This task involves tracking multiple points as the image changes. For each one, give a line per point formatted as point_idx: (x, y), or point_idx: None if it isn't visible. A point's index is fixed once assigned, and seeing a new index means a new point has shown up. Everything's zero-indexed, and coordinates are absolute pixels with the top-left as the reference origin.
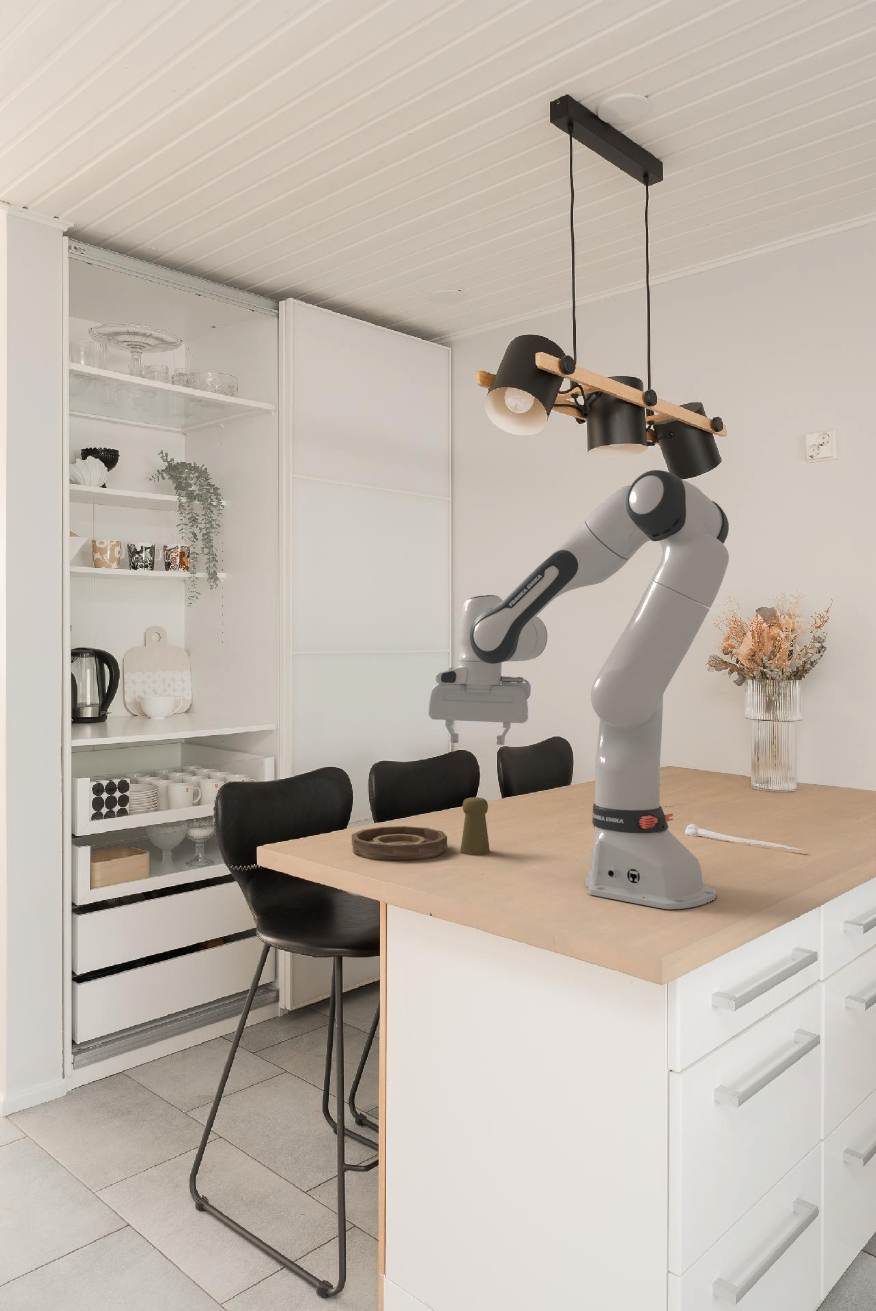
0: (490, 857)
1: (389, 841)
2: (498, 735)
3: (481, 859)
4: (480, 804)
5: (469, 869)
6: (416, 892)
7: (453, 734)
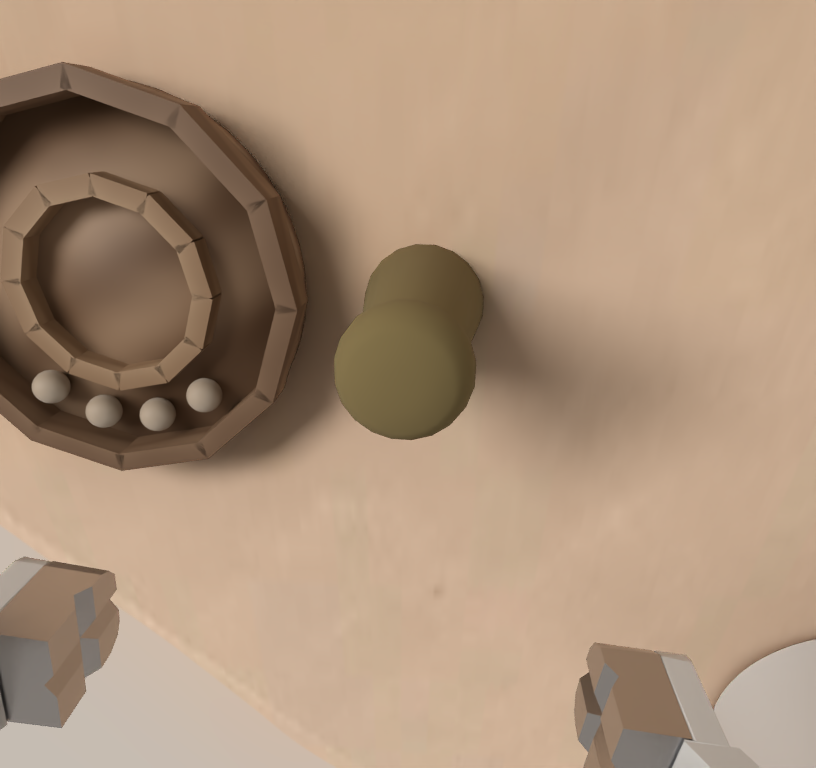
0: (478, 391)
1: (61, 213)
2: (631, 745)
3: None
4: (429, 435)
5: (400, 542)
6: (276, 723)
7: (9, 720)
